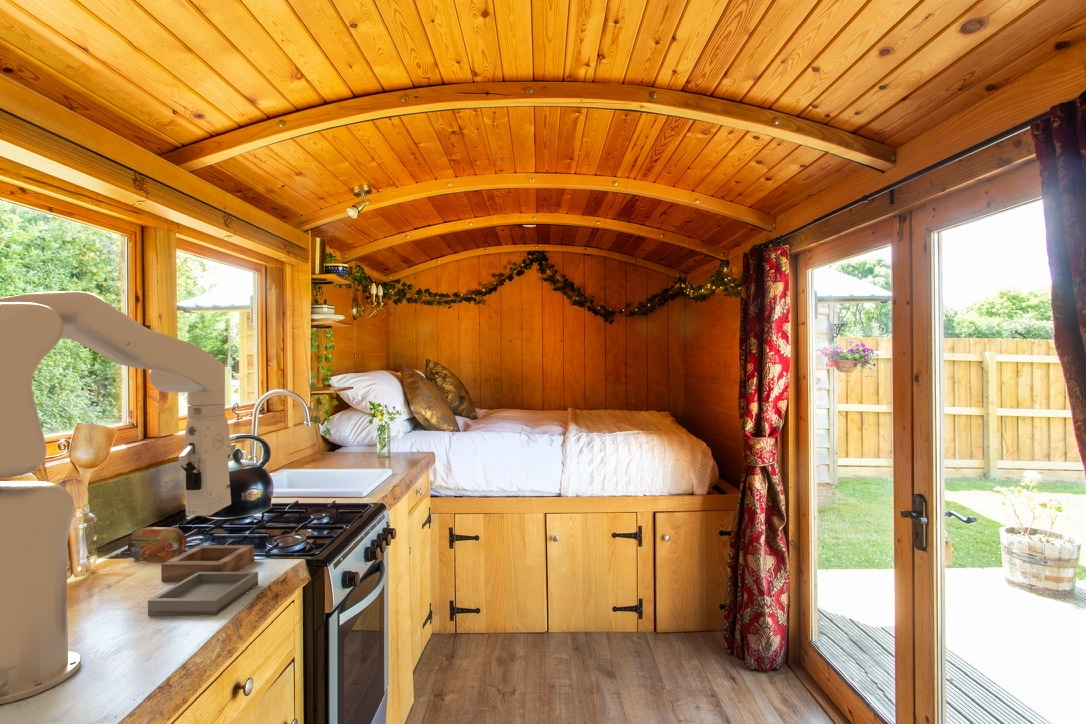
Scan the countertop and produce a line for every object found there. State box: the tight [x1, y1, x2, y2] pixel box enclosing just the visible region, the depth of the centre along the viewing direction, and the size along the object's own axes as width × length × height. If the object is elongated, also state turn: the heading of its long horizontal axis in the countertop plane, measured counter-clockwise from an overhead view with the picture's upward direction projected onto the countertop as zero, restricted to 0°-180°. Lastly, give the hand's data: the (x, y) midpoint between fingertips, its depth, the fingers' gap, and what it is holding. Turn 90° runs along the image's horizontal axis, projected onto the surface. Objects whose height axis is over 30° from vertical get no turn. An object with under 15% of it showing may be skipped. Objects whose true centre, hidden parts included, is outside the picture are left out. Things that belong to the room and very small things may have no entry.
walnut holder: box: [160, 544, 255, 582], centre depth 124 cm, size 12×14×4 cm
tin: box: [127, 526, 187, 563], centre depth 132 cm, size 15×3×8 cm, turn 82°
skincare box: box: [182, 452, 232, 517], centre depth 121 cm, size 8×6×15 cm
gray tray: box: [147, 571, 259, 617], centre depth 109 cm, size 14×14×3 cm
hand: (207, 485), depth 121 cm, fingers closed on skincare box, 8 cm apart
